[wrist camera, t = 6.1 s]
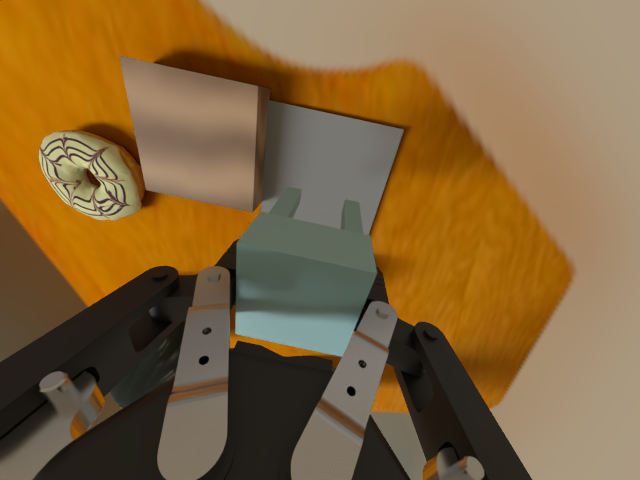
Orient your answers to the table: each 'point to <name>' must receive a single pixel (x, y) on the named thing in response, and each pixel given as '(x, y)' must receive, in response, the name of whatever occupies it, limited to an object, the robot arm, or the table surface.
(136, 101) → the brown wooden square block
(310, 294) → the two-pronged teal block
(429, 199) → the table surface
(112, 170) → the decorated donut
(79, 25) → the table surface
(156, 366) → the squash
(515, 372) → the table surface
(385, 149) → the mat
